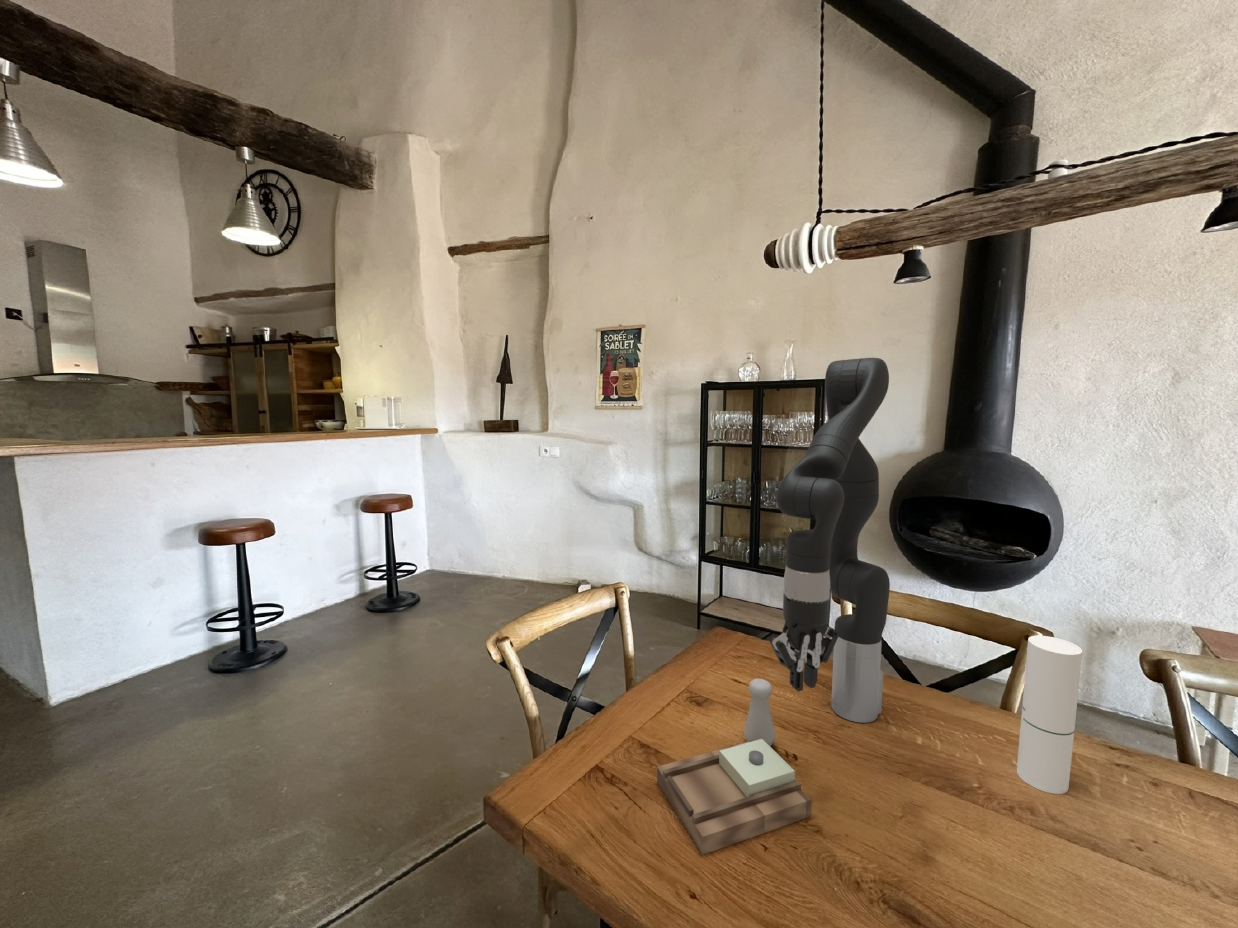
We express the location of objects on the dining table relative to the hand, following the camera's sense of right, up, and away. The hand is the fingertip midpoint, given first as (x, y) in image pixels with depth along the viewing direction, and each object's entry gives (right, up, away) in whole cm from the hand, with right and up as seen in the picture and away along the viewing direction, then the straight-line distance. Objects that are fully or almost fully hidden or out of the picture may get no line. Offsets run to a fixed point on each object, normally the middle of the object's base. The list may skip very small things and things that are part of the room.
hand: (803, 686), depth 91 cm
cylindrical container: (+43, -17, +1) cm, 46 cm away
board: (-13, -18, -3) cm, 22 cm away
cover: (-9, -14, -2) cm, 17 cm away
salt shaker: (-5, -16, +11) cm, 20 cm away
